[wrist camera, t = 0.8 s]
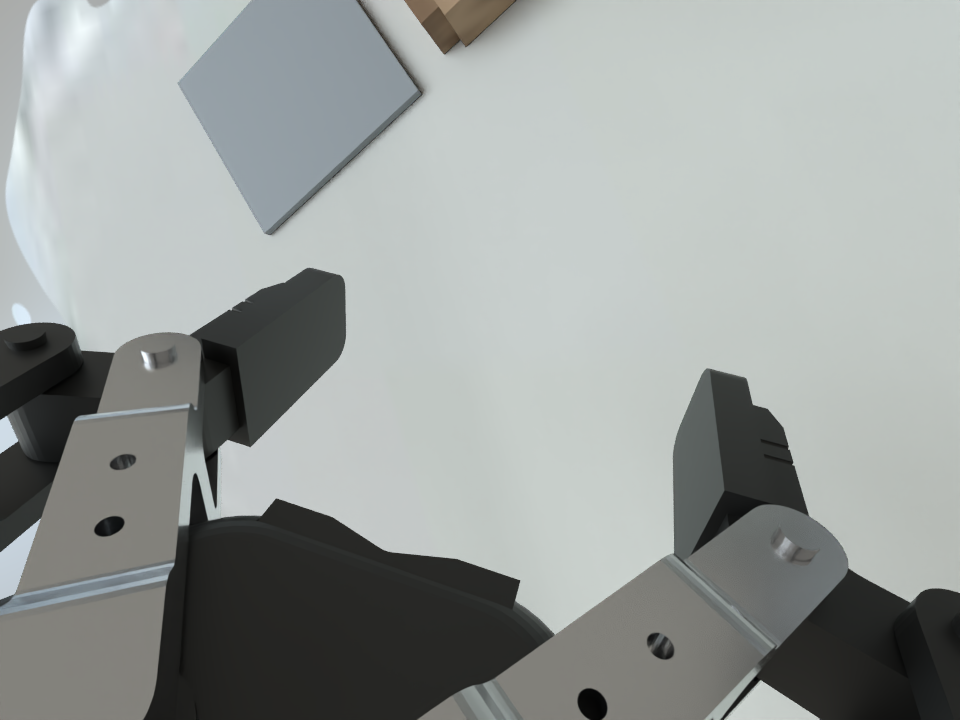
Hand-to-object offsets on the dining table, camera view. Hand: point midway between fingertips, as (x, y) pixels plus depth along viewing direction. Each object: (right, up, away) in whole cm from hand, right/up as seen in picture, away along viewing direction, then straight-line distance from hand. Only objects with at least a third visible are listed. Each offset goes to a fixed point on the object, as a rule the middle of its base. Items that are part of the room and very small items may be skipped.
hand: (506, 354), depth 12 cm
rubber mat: (-12, +17, +22) cm, 31 cm away
